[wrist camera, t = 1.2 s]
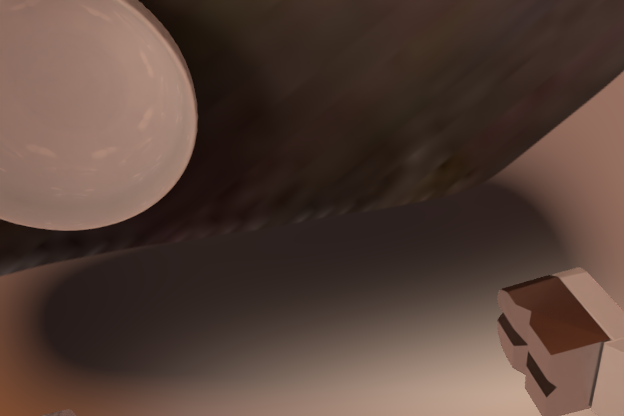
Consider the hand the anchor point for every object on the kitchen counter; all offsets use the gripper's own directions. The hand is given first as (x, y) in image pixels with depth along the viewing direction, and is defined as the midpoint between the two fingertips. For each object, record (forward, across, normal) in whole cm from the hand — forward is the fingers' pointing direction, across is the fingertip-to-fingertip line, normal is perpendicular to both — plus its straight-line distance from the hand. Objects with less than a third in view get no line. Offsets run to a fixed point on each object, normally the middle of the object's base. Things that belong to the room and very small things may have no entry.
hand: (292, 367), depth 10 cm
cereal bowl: (+31, +12, +2) cm, 34 cm away
